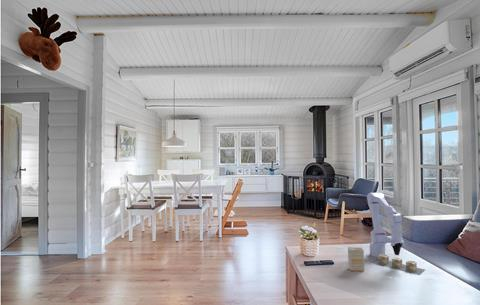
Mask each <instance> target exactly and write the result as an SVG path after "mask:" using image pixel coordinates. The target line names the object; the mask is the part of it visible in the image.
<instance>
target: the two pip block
mask: <svg viewBox="0 0 480 305" xmlns="http://www.w3.org/2000/svg"><path fill="white" fill-rule="evenodd" d="M378 258H379V263H382V264H388V263H389V261H390V259H389V258H390V256H389V255H386V254H385V255H383V254H381V255H379V257H378Z"/></svg>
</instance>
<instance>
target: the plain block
mask: <svg viewBox="0 0 480 305" xmlns="http://www.w3.org/2000/svg"><path fill="white" fill-rule="evenodd" d="M391 261H392V266H394V267H398V268H400V267H402V264H403V258H401V257H395V256H394V257H392V258H391Z"/></svg>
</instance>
